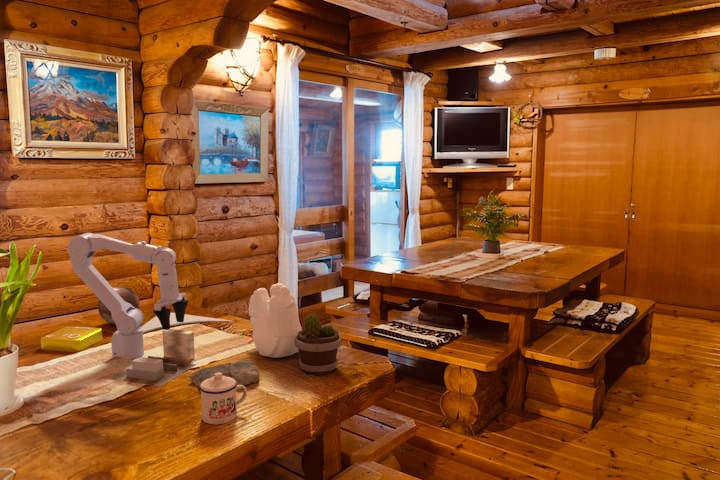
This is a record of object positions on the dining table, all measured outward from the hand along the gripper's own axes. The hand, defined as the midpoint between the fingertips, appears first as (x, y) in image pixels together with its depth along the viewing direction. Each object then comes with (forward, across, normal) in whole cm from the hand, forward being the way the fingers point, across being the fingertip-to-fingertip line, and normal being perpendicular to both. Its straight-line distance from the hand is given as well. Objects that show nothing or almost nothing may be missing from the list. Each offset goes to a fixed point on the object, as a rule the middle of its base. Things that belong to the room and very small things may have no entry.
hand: (173, 325), depth 187 cm
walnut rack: (+10, -16, -3) cm, 19 cm away
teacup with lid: (+12, -34, -38) cm, 52 cm away
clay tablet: (+12, -14, -26) cm, 32 cm away
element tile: (+9, 0, +43) cm, 44 cm away
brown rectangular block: (+10, -3, -3) cm, 11 cm away
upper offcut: (+7, -20, -4) cm, 21 cm away
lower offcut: (+9, -20, -3) cm, 22 cm away
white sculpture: (+13, +14, -29) cm, 35 cm away
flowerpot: (+14, +3, -49) cm, 51 cm away
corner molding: (+11, +24, +16) cm, 31 cm away
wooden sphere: (+9, +24, +43) cm, 50 cm away
